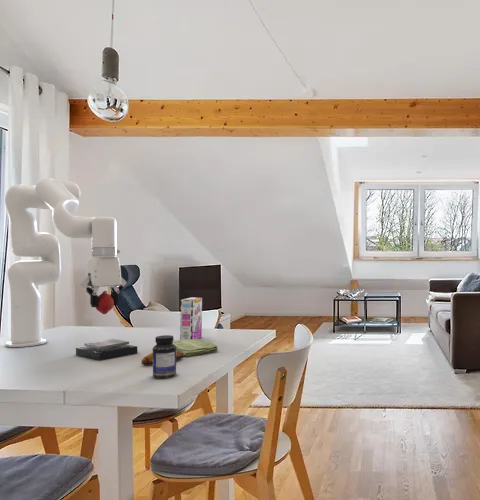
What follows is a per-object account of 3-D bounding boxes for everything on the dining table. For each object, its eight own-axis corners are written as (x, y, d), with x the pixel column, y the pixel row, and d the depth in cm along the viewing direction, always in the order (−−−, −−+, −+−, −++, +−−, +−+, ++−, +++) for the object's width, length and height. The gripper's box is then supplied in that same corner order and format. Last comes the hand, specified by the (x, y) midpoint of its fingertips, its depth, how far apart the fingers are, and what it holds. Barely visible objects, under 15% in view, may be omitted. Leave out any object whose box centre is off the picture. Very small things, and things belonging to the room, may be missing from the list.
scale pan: (84, 345, 161) (84, 343, 161) (113, 341, 169) (112, 338, 169) (100, 348, 155) (100, 346, 155) (129, 343, 163) (129, 341, 163)
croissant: (147, 368, 142) (147, 351, 142) (136, 364, 147) (136, 348, 147) (188, 360, 152) (188, 344, 152) (177, 357, 157) (177, 342, 157)
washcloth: (184, 358, 156) (184, 348, 156) (162, 350, 169) (162, 340, 169) (220, 352, 165) (220, 342, 165) (197, 345, 178) (197, 336, 178)
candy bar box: (192, 342, 183) (192, 299, 183) (179, 342, 183) (179, 299, 183) (202, 337, 194) (202, 297, 194) (190, 337, 194) (190, 297, 194)
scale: (75, 355, 161) (75, 346, 161) (113, 348, 172) (113, 340, 172) (99, 360, 152) (99, 351, 152) (137, 353, 163) (137, 345, 163)
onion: (105, 315, 158) (105, 291, 158) (90, 315, 159) (90, 291, 160) (117, 313, 164) (117, 290, 164) (103, 313, 165) (103, 290, 165)
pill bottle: (156, 373, 136) (156, 334, 136) (178, 373, 136) (178, 334, 136) (149, 379, 129) (149, 338, 130) (172, 378, 130) (172, 338, 130)
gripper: (122, 252, 171) (122, 303, 171) (72, 253, 157) (72, 308, 157) (134, 252, 167) (134, 304, 167) (84, 253, 153) (84, 309, 153)
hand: (104, 305), depth 162 cm, fingers closed on onion, 5 cm apart
